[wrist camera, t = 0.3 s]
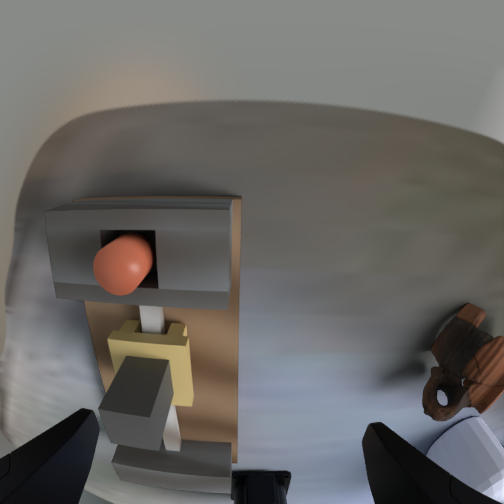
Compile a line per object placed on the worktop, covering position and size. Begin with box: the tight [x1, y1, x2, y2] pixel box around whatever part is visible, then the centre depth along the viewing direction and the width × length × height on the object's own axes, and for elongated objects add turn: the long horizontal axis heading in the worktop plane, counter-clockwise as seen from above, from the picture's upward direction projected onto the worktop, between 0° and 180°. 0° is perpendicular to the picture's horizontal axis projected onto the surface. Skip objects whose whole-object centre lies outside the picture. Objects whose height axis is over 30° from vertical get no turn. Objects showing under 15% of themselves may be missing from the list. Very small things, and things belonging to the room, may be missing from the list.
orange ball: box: [93, 232, 155, 295], centre depth 14 cm, size 2×2×2 cm
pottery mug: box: [422, 303, 504, 421], centre depth 22 cm, size 12×10×8 cm
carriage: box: [98, 320, 194, 451], centre depth 17 cm, size 5×5×8 cm
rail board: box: [45, 196, 242, 494], centre depth 20 cm, size 24×11×6 cm, turn 178°
